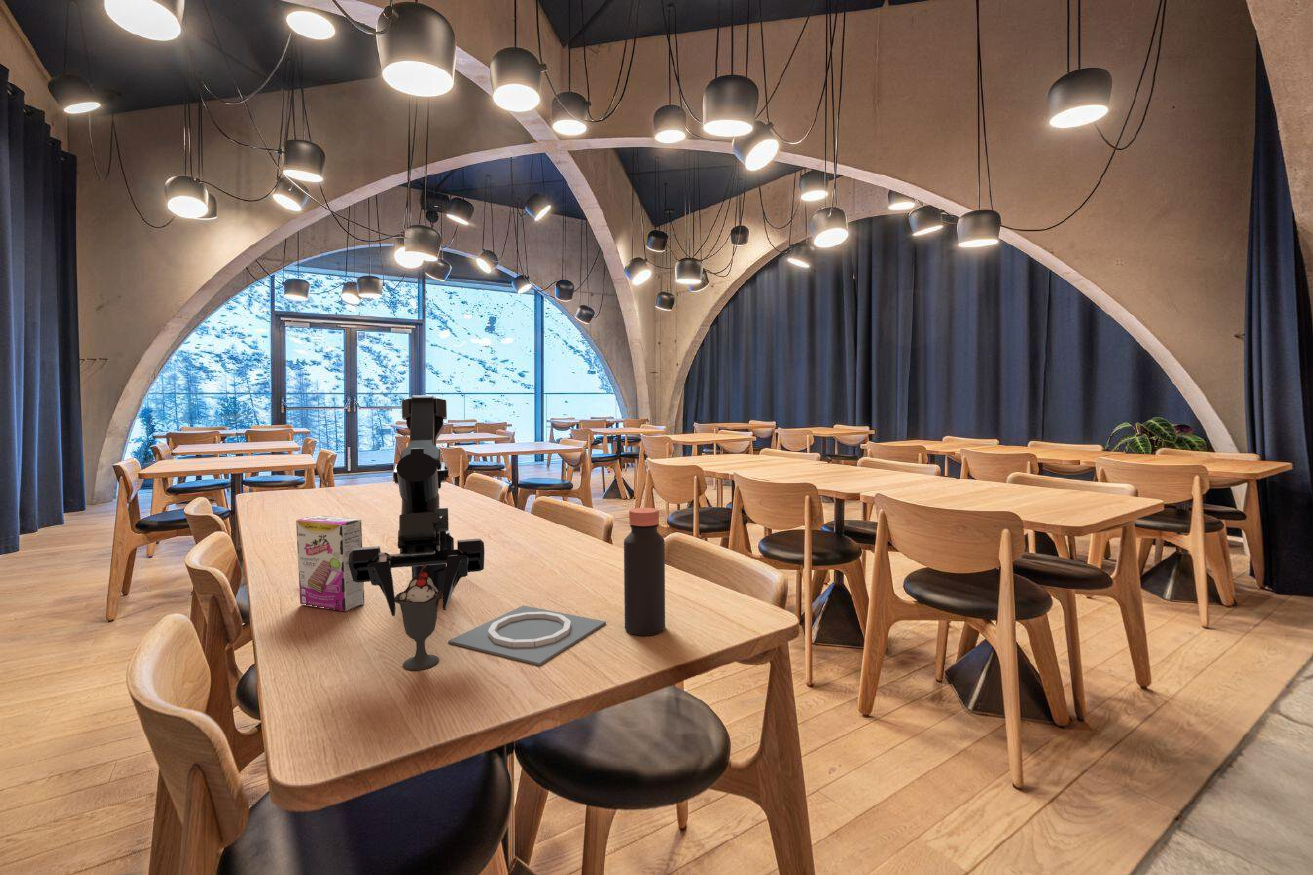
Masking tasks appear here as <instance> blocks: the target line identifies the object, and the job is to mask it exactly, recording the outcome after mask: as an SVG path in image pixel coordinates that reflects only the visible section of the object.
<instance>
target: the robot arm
mask: <svg viewBox="0 0 1313 875" xmlns="http://www.w3.org/2000/svg"><path fill="white" fill-rule="evenodd" d="M447 416H448V410H447V399H444V398H441V397H440V396H438V397H437V396H434V395H431V394H430V395H426V394H425V395H412V396H409V397H408V398H406V399H402V400H401V419H402V420H403V421H406V422H405V423H406V427H407V429H408V431H409V444H408V445H407V446H406V447H405V448H404V449H403V450H401V454H400V460H399V461H398V462H397V463H396V464H395V468H394V470H393V480H394V484H395V485H398V492H399V496H400V498H401V514H399V516H398V519H399V520H398V524H399V525H398V528H399V529H398V531H397V549H399V553H392V554H389V553H388V552H381V546H378V545H377V546H368V547H367V546H366V547H363V546H362V548H354V549H353V550H352V551H351V552H350V554H349V563H348V564H349V568H350V571H351V575H352V578H353V581H354V582H357V583H360V582H364V583H369V582H370V584H371V585H372V586H378V587H379V588H380V589H381V592H382V594H383V595H384V597H385V599H386V602H387V605H388V608H389V610H390V614H391V616H392V617H395V616H396V609H397V607H396V602H395V601H394V598H395V596H396V595H395V588H394V580H393V575H392V574H393V573H392V568H393V569H395V568H405V567H406V568H409V567H411V580H412V579H413V577H414V576H419V574H420V572H421V570H422V567H423V566H424V564H426V567H425V568H424V569H423V572H426V573H427V577H429V578H430V579H431V580H432V582H433V585H434V586H435V587H436V588H437V589H439V590H441V591H442V592H443V595H442V611H447V608H448V606H449V603H450V600H451V598H452V595H453V593H454V590H455V589H456V587H457V585H458V583H459V581H460V580H461V579H462V578H465V577H468V573H475V572H481V571H483V570H484V569H485V543H484V540H482V539H481V538H469V539H468V538H467V539H457V541H456V544H457V545H456V546H457V547H456V548H457V549H455V543H454V541H455V540H454V539H455V538H454V537H453V536H452V534H451V532H450V528H449V527H450V526H449V508H448V507H445V508H444V507H440V494H439V490H440V489H441V488H442V483H446V481H447V478H449V474H450V472H449V470H450V469H449V467H448V466H447V465H446V464H445V461H441V450H440V449H439V448H438V447H437V440H438V439H439V437H440V436H441V433H442V432H443V430H444V428H445V427H444V426H445V425H444V423H445V422H444V420H448V417H447ZM421 573H422V572H421Z"/></svg>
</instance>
